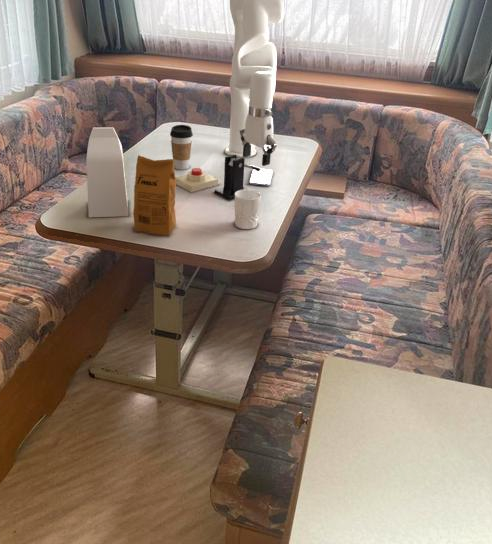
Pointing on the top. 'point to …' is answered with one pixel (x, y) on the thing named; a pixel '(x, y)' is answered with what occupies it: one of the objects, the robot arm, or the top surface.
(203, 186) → the control box
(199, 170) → the button
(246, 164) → the switch lever
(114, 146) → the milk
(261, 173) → the mobile phone
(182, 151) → the coffee cup
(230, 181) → the switch bracket
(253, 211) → the white cup
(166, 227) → the coffee package
